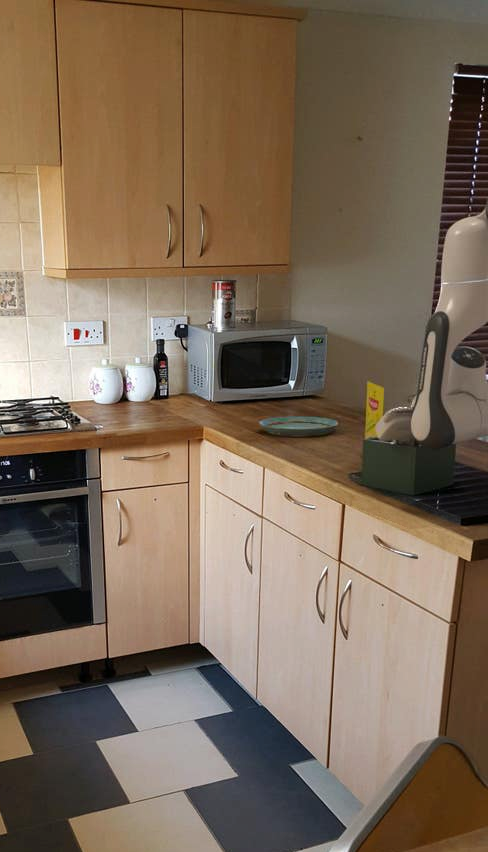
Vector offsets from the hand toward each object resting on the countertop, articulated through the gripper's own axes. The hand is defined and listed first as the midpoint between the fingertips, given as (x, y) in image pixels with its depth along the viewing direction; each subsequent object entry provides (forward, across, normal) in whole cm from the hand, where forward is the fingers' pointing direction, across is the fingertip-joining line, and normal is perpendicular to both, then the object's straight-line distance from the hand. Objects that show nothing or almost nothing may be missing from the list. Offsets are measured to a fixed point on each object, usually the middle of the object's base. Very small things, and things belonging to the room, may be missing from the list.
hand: (407, 444), depth 198 cm
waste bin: (+6, 0, -7) cm, 9 cm away
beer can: (+4, 0, -5) cm, 7 cm away
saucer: (+62, +7, +49) cm, 79 cm away
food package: (+25, +5, +12) cm, 28 cm away
